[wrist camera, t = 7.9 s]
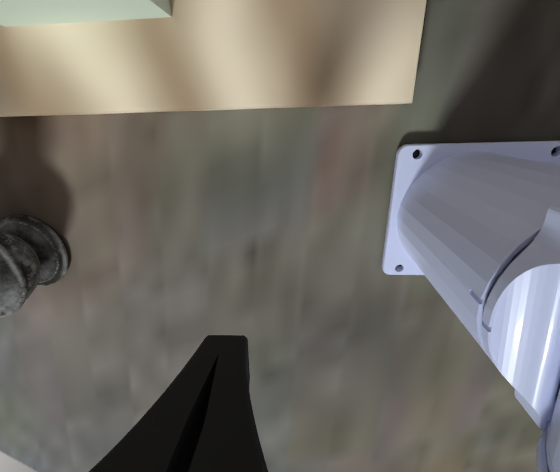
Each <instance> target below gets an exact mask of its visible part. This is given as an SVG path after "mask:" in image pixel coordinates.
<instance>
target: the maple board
mask: <svg viewBox="0 0 560 472" xmlns="http://www.w3.org/2000/svg"><path fill="white" fill-rule="evenodd" d="M169 1H170V8H171V15H172V17H166V18H149V19H131V20H113V21H96V22H78V23H61V24H43V25H25V26H8V27H5V26H1V25H0V117H21V116H51V115H81V114H112V113H142V112H172V111H202V110H233V109H263V108H293V107H323V106H354V105H384V104H405V103H412V99H413V92H414V85H415V78H416V71H417V64H418V57H419V50H420V43H421V36H422V29H423V22H424V15H425V8H426V1H427V0H169Z"/></svg>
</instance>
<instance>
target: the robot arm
mask: <svg viewBox="0 0 560 472" xmlns="http://www.w3.org/2000/svg"><path fill="white" fill-rule="evenodd" d="M555 147H556V151H555V153H554V154H552V155H551V151H552V149H553V148H555ZM417 149H418V150H419V151H420V154H419V156H418V157H417V158H413V155H412V154H413V152H414V151H415V150H417ZM397 265H401V267H400V268H398V269H395V267H396V266H397ZM382 269H383V271H384V272H385V273H386V274H389V275H425V276H426V277H427V279H428V280H429V281H430V282H431V284H432V285H433V286H434V288H435V289H436V290H437V291H438V293H439V294H440V295H441V297H442V298H443V299H444V300H445V302H446V303H447V304H448V305H449V307H450V308H451V309H452V311H453V312H454V313H455V314H456V316H457V317H458V318H459V319H460V321H461V322H462V323H463V325H464V326H465V327H466V328H467V330H468V331H469V332H470V334H471V335H472V336H473V337H474V339H475V340H476V341H477V342H478V344H479V345H480V346H481V348H482V349H483V350H484V351H485V353H486V354H487V355H488V356H489V358H490V359H491V361H492V362H493V363H494V364H495V366H496V367H497V368H498V370H499V371H500V372H501V374H502V375H503V376H504V377H505V378H506V380H507V381H508V382H509V383H510V384H511V385H512V386H513V387H514V388H515V397H516V398H517V400H518V401H519V402H520V403H521V405H522V406H523V407H524V409H525V410H526V411H527V413H528V414H529V415H530V416H531V418H532V419H533V420H534V422H535V423H536V424H537V426H538V427H539V428H540V429H541V430H544V431H543V433H542V435H541V437H540V440H539V443H538V447H537V455H536V467H537V472H560V141H524V142H481V143H438V144H406V145H403V146H401V147H400V148H399V149H398V151H397V154H396V161H395V168H394V176H393V184H392V191H391V199H390V206H389V214H388V222H387V229H386V237H385V244H384V252H383V260H382ZM249 380H250V374H249V357H248V340H247V338H246V337H245V336H231V335H208V336H207V337H206V338H205V339H204V341H203V342H202V343H201V345H200V346H199V348H198V349H197V350H196V352H195V353H194V355H193V356H192V357H191V359H190V360H189V361H188V363H187V364H186V365H185V367H184V368H183V369H182V371H181V372H180V373H179V374H178V376H177V377H176V378H175V379H174V381H173V382H172V383H171V384H170V386H169V387H168V388H167V389H166V391H165V392H164V393H163V394H162V395H161V397H160V398H159V399H158V400H157V401H156V402H155V403H154V405H153V406H152V407H151V408H150V409H149V410H148V411H147V413H146V414H145V415H144V416H143V417H142V418H141V419H140V421H139V422H138V423H137V424H136V425H135V426H134V427H133V428H132V429H131V430H130V431H129V432H128V433H127V434H126V436H125V437H124V438H123V439H122V440H121V441H120V442H119V443H118V444H117V445H116V446H115V447H114V448H113V449H112V450H111V451H110V452H109V453H108V454H107V455H106V456H105V457H104V458H103V459H102V460H101V461H100V462H99V463H98V464H96V465H95V466H94V467H93V468H92V469H91V470H90V471H89V472H268V470H267V467H266V463H265V460H264V456H263V452H262V449H261V445H260V441H259V437H258V433H257V429H256V425H255V420H254V415H253V411H252V406H251V400H250V395H249Z"/></svg>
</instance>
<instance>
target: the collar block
mask: <svg viewBox="0 0 560 472" xmlns="http://www.w3.org/2000/svg"><path fill="white" fill-rule="evenodd" d="M166 17H172V15H171V8H170V1H169V0H0V25H1V26H5V27H8V26H25V25H43V24H61V23H78V22H96V21H113V20H131V19H149V18H166Z"/></svg>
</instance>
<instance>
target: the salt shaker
mask: <svg viewBox="0 0 560 472" xmlns="http://www.w3.org/2000/svg"><path fill="white" fill-rule="evenodd" d="M67 268H68V255H67V251H66V248H65V246H64V244H63V242H62V241H61V239H60V237H59V236H58V235H57V234H56V233H55V232H54V231H53V229H51V228H50V227H49V226H47V225H46V224H45V223H44V222H42V221H40V220H38V219H36V218H34V217H30V216H26V215H12V216H9V217H6V218H4V219H2V220H1V221H0V318H1V317H5V316H9V315H11V314H13V313H15V312H16V311H18V310H19V309H20V308H21V306H22V305H23V304H24V302H25V300H26V299H27V298H28V297H29V296H30V295H31V293H32V292H33V291H34V289H35V288H36V286H37V285H49V284H53V283H55V282H57V281H58V280H60V279H62V277H63V276H64V275H65V273H66V271H67Z"/></svg>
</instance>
